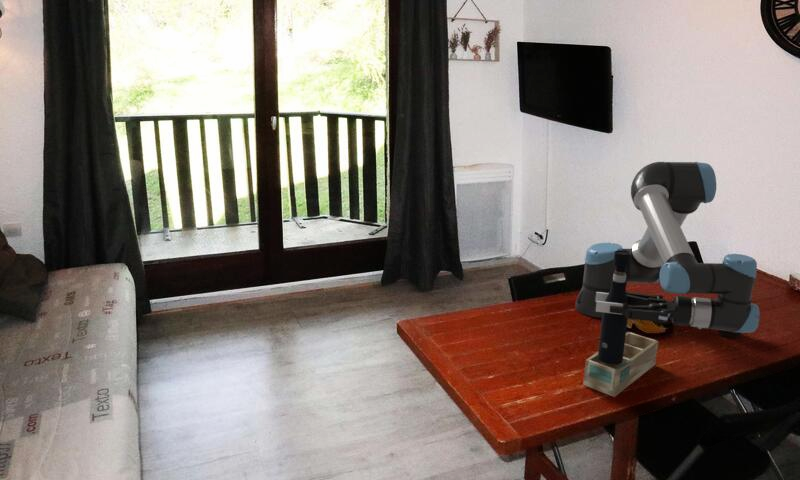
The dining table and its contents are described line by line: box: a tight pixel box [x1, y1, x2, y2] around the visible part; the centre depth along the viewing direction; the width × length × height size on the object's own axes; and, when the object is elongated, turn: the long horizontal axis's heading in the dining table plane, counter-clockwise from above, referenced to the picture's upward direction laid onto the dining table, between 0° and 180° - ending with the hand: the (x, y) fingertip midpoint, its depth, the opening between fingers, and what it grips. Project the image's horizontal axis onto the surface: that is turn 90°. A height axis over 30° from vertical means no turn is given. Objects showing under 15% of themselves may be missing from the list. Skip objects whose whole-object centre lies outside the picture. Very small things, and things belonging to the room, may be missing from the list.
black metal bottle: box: [597, 250, 630, 364], centre depth 175 cm, size 6×6×30 cm
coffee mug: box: [717, 330, 742, 340], centre depth 215 cm, size 12×9×10 cm
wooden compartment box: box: [582, 331, 659, 398], centre depth 186 cm, size 9×26×8 cm, turn 137°
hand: (596, 301), depth 176 cm, fingers closed on black metal bottle, 6 cm apart
